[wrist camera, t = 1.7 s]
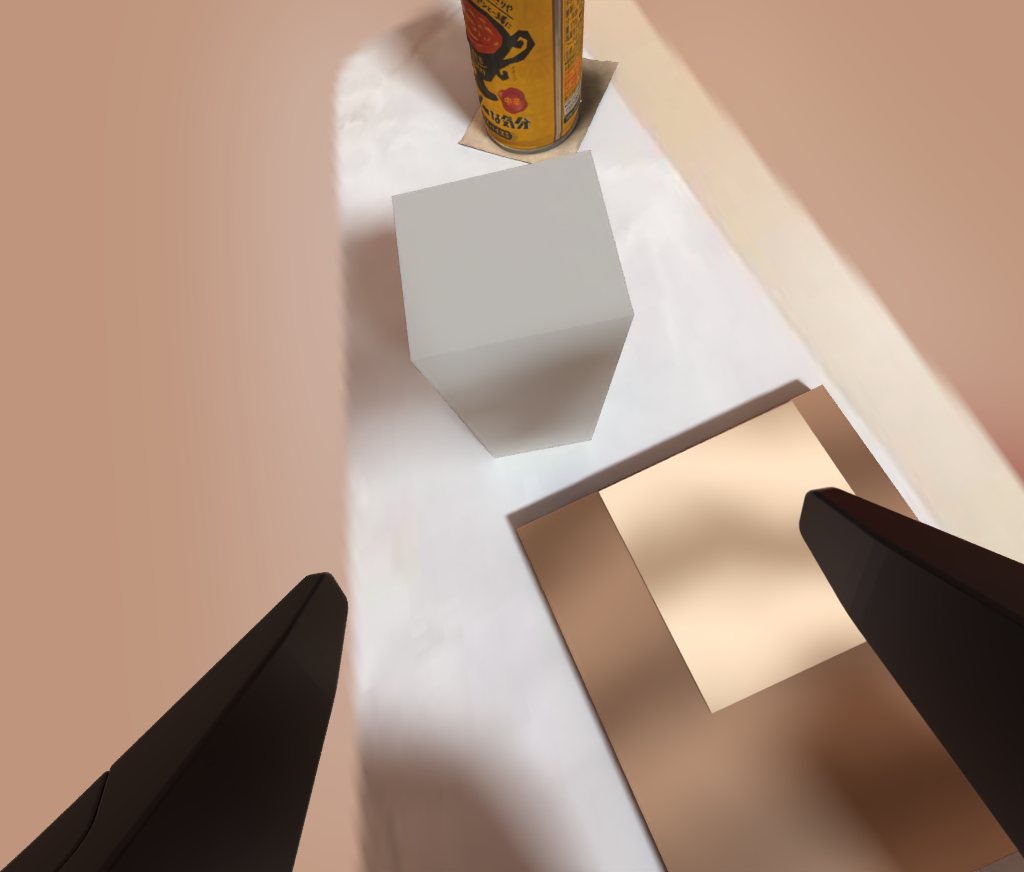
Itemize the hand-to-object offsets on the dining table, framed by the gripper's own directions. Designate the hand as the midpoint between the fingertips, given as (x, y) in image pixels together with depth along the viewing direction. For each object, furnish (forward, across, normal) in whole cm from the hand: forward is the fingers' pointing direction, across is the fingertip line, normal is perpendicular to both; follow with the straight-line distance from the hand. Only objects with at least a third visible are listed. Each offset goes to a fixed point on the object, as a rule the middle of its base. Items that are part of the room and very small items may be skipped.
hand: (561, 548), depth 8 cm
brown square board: (+5, -8, +13) cm, 16 cm away
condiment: (+28, -4, -9) cm, 29 cm away
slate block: (+14, 0, +4) cm, 14 cm away
